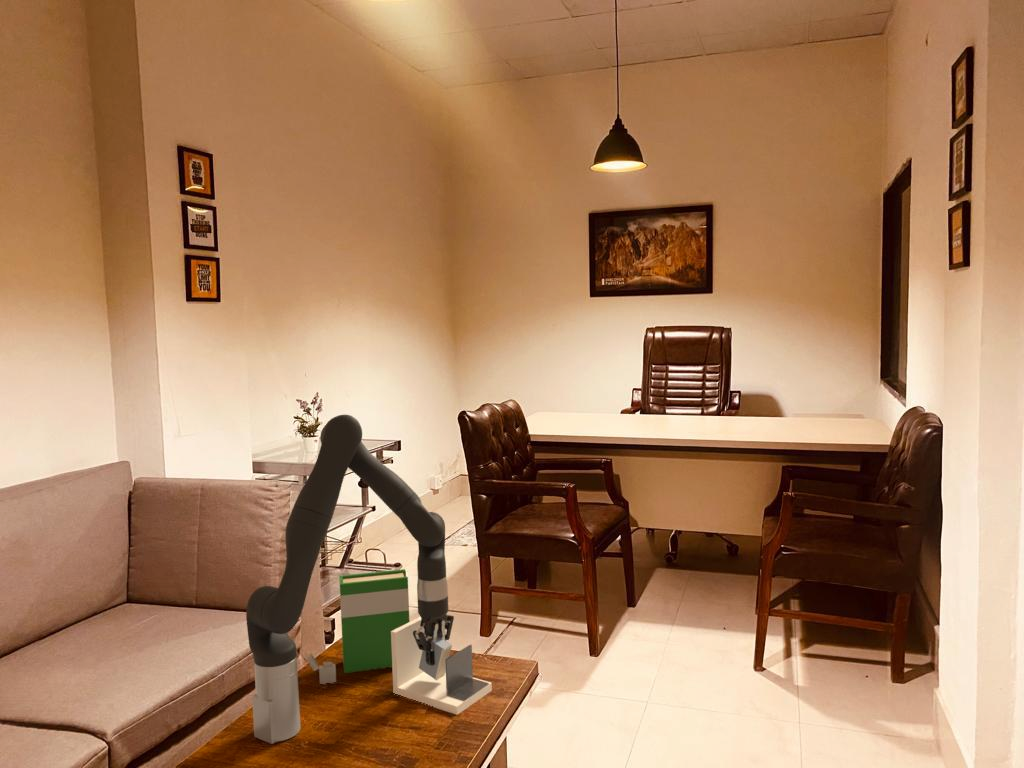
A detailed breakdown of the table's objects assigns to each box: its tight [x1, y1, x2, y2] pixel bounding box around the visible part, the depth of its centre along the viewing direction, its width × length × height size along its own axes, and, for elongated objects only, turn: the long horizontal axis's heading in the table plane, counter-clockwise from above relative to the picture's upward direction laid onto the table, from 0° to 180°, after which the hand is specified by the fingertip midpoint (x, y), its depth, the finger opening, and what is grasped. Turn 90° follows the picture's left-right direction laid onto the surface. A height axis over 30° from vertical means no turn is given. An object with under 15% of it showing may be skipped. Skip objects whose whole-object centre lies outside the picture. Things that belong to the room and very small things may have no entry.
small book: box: [419, 636, 453, 680], centre depth 197 cm, size 3×6×9 cm, turn 56°
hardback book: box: [338, 568, 411, 674], centre depth 214 cm, size 18×7×24 cm, turn 104°
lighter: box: [305, 652, 337, 685], centre depth 203 cm, size 7×2×8 cm, turn 105°
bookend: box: [445, 644, 489, 701], centre depth 193 cm, size 10×5×9 cm, turn 146°
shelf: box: [391, 616, 493, 716], centre depth 196 cm, size 14×20×16 cm
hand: (435, 661), depth 197 cm, fingers closed on small book, 3 cm apart
